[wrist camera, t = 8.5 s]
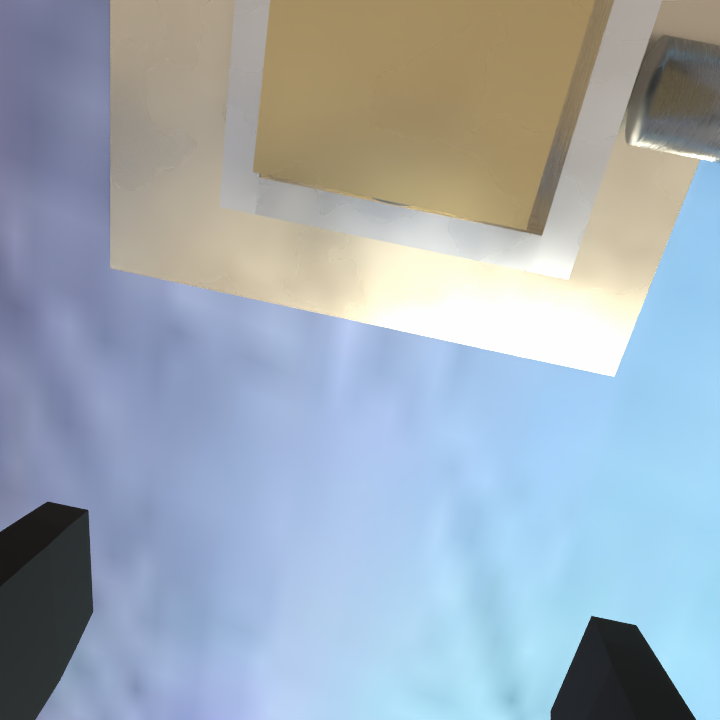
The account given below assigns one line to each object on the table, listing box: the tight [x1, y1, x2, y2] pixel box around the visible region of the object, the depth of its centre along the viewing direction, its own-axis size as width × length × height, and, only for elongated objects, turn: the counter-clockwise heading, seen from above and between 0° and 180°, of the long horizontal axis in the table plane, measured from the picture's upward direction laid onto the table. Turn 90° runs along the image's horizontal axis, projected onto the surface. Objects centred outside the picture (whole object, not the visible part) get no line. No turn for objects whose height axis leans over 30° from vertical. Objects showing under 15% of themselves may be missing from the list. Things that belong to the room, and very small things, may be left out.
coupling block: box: [253, 0, 595, 230], centre depth 12 cm, size 4×5×6 cm
